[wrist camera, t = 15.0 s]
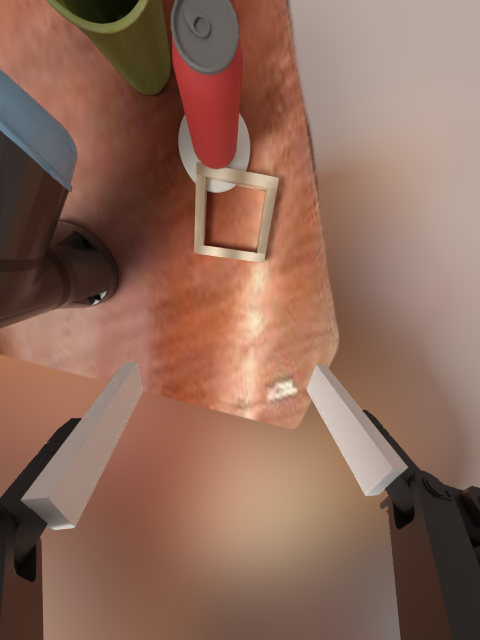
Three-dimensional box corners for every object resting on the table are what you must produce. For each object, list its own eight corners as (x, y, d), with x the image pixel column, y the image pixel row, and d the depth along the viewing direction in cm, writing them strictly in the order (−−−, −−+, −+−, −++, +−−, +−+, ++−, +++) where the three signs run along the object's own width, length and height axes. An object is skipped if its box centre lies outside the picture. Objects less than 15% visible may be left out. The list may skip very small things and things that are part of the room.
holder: (196, 252, 32) (194, 253, 31) (198, 167, 27) (196, 162, 26) (262, 261, 34) (263, 262, 32) (275, 182, 29) (279, 177, 27)
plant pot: (132, 134, 26) (66, 57, 15) (76, 13, 21) (-73, -215, 11) (204, 98, 24) (185, -10, 14) (161, -38, 20) (86, -348, 10)
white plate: (179, 186, 28) (178, 185, 28) (179, 93, 24) (177, 88, 23) (244, 198, 29) (244, 196, 29) (254, 110, 25) (255, 106, 24)
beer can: (206, 109, 24) (188, -54, 13) (245, 140, 26) (260, 16, 14) (184, 153, 25) (148, 38, 14) (222, 181, 26) (219, 97, 15)
